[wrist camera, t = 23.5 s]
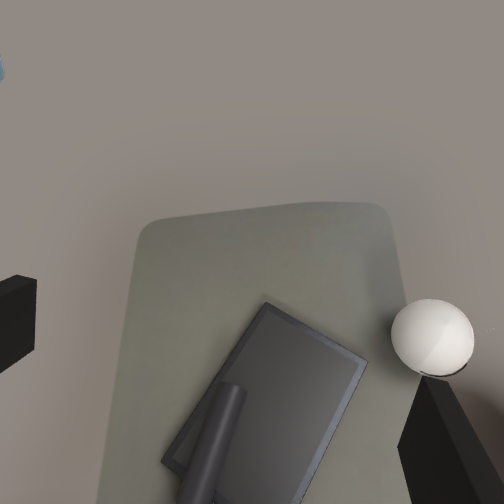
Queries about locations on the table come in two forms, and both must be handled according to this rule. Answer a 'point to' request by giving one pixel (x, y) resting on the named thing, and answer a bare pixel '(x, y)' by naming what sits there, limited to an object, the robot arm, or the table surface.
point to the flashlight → (212, 445)
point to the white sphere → (433, 337)
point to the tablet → (276, 410)
